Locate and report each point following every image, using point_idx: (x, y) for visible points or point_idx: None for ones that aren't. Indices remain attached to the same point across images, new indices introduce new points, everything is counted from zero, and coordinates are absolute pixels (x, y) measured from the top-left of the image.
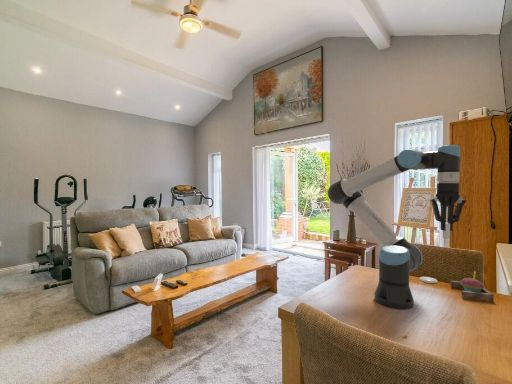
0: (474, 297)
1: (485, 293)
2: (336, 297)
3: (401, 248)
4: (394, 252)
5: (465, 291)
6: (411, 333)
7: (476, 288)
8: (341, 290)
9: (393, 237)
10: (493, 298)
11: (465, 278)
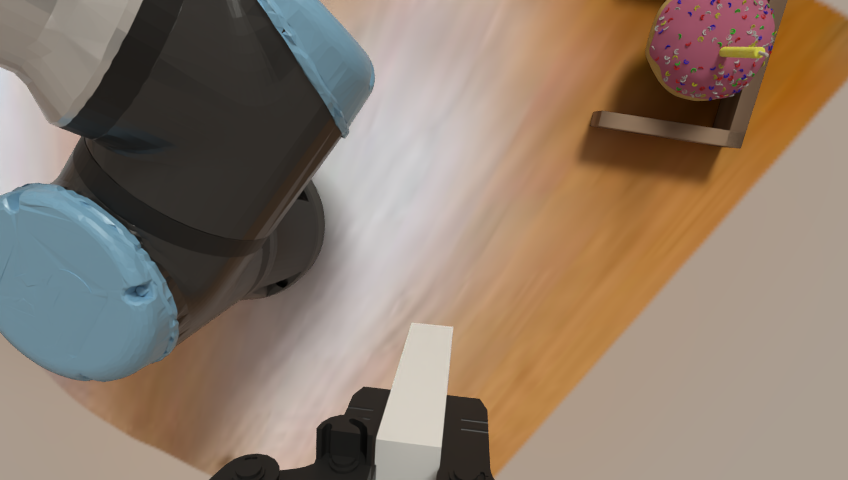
0: (644, 134)
1: (710, 133)
2: None
3: (97, 291)
4: (50, 361)
5: (615, 121)
6: (248, 444)
7: (692, 99)
8: (46, 129)
9: (7, 52)
10: (730, 147)
11: (700, 10)
